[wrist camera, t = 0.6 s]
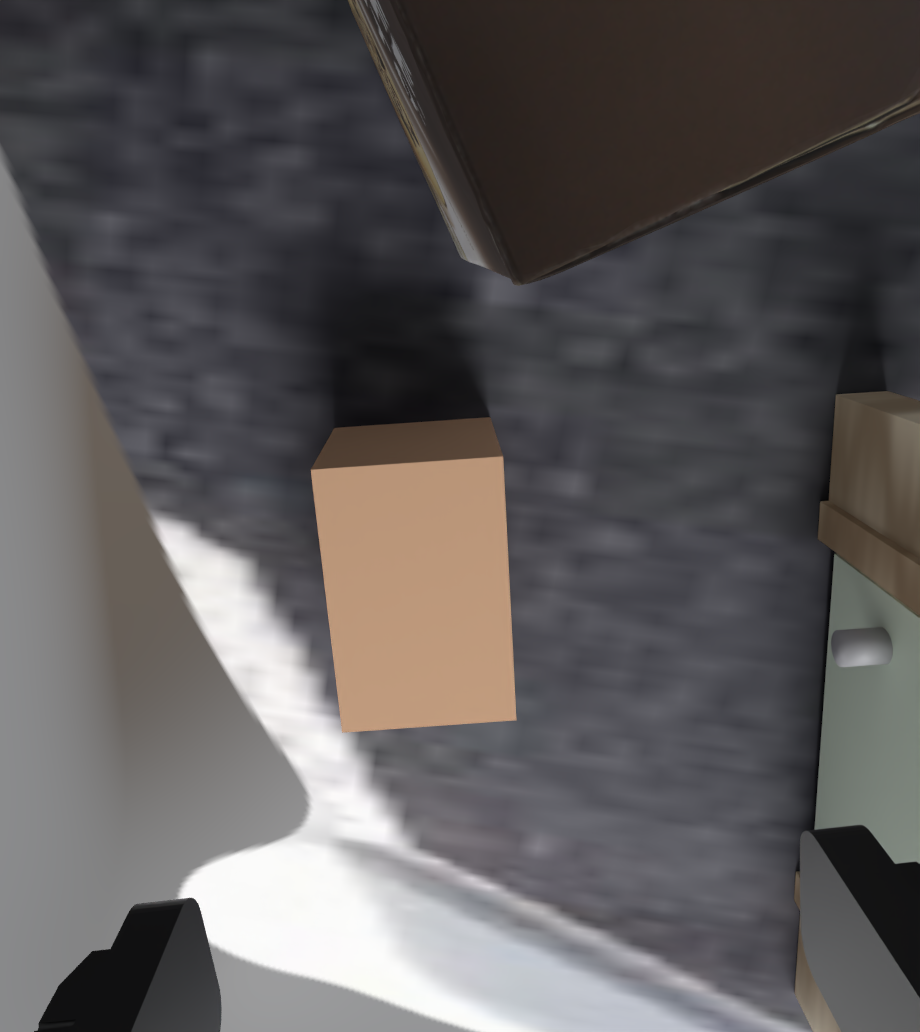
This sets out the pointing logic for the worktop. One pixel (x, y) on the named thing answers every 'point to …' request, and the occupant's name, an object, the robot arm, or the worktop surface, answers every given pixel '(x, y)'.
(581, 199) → the coffee box
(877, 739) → the door
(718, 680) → the worktop surface
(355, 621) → the rectangular block
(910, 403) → the door frame
